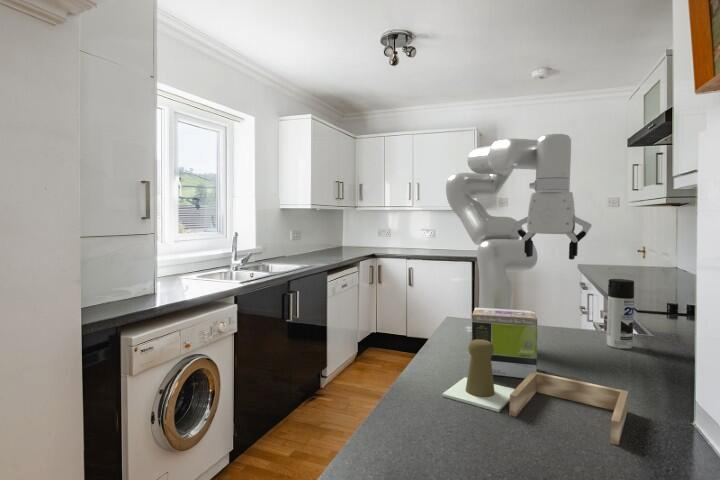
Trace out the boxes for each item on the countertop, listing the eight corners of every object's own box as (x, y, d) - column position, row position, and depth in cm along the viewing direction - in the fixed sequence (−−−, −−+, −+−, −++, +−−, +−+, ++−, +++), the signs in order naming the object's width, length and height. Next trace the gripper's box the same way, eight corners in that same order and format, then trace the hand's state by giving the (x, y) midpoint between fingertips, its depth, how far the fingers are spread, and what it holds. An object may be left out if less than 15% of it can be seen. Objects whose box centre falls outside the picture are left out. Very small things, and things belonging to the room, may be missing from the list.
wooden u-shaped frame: (509, 415, 82) (509, 394, 82) (531, 388, 95) (532, 371, 95) (618, 445, 71) (619, 421, 71) (627, 411, 84) (628, 391, 84)
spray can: (622, 350, 124) (625, 282, 123) (600, 344, 130) (603, 278, 129) (637, 348, 126) (640, 280, 125) (615, 342, 132) (618, 277, 131)
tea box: (534, 367, 109) (536, 310, 108) (536, 381, 99) (538, 318, 99) (473, 360, 114) (474, 305, 113) (470, 373, 104) (471, 313, 104)
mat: (442, 396, 90) (442, 393, 90) (464, 379, 100) (464, 377, 100) (498, 412, 83) (499, 409, 83) (517, 392, 93) (517, 389, 93)
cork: (496, 398, 88) (498, 345, 88) (466, 395, 89) (467, 343, 89) (492, 387, 94) (493, 337, 94) (464, 384, 95) (465, 336, 95)
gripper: (511, 187, 105) (509, 256, 106) (590, 184, 95) (587, 261, 96) (520, 189, 111) (518, 254, 112) (595, 186, 101) (592, 259, 102)
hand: (550, 257), depth 104 cm, fingers open, 9 cm apart
